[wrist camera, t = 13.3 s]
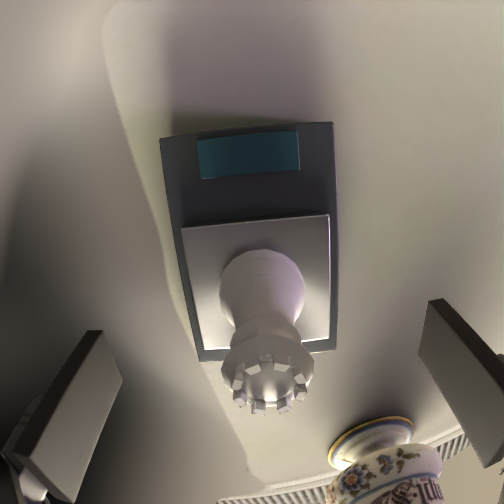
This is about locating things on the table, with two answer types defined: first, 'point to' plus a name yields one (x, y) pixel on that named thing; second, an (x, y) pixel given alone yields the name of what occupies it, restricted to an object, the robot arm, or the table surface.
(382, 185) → the table surface
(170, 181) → the scale base
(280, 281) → the rook chess piece
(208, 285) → the scale pan
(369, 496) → the apothecary jar
